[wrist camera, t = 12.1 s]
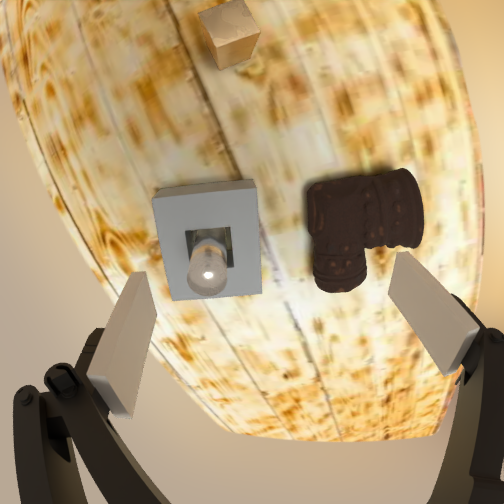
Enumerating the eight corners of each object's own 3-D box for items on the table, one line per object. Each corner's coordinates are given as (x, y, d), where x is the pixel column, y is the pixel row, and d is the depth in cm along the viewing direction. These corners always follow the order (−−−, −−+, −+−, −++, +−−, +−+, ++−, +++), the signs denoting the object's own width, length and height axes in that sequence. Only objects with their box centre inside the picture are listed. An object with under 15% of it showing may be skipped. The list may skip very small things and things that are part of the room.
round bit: (195, 221, 39) (183, 263, 28) (224, 218, 39) (224, 259, 28) (199, 248, 40) (190, 297, 30) (227, 245, 40) (228, 294, 30)
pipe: (317, 305, 37) (423, 286, 34) (299, 193, 31) (423, 174, 29) (312, 270, 46) (401, 255, 43) (296, 177, 40) (395, 162, 37)
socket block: (160, 188, 36) (151, 198, 32) (252, 179, 37) (256, 188, 32) (177, 281, 42) (172, 301, 38) (258, 274, 43) (262, 293, 38)
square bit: (206, 44, 29) (198, 12, 18) (237, 33, 28) (241, -3, 17) (219, 70, 30) (216, 48, 19) (249, 58, 30) (260, 31, 19)
